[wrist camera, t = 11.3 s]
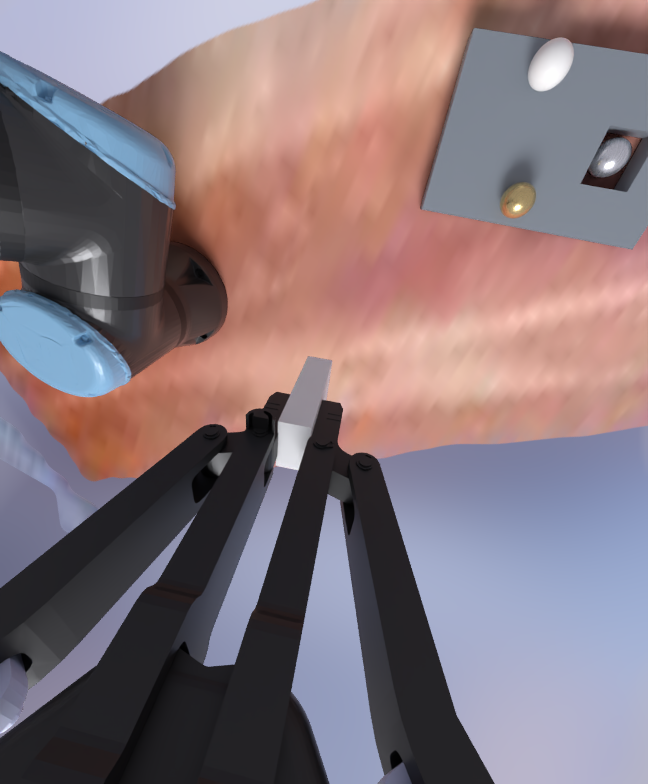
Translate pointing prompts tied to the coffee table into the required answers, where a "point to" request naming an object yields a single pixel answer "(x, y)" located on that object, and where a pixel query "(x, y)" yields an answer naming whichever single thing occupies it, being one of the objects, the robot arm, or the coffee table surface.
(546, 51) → the white ball
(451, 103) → the board
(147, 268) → the robot arm
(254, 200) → the coffee table surface
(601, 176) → the steel ball
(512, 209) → the brass ball
